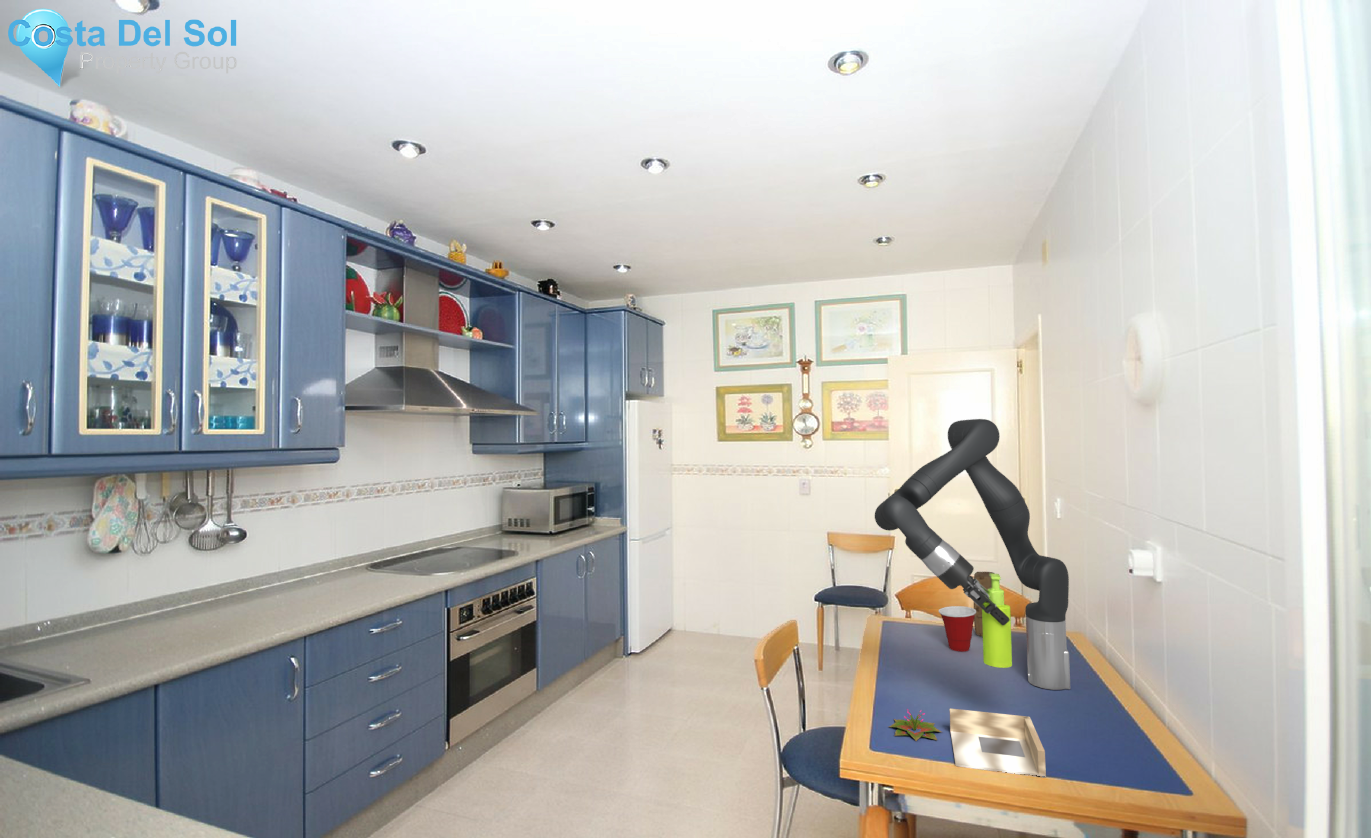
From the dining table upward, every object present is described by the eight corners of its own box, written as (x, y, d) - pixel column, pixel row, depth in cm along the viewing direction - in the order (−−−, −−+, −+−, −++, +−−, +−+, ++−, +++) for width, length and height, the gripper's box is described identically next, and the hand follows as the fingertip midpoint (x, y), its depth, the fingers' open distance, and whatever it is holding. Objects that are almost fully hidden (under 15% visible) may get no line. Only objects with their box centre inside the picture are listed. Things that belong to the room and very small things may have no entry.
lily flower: (886, 741, 141) (886, 719, 141) (886, 718, 153) (886, 698, 153) (946, 747, 138) (945, 726, 138) (941, 724, 149) (940, 703, 149)
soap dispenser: (1009, 659, 151) (1006, 572, 151) (1013, 669, 144) (1011, 578, 145) (981, 657, 152) (979, 571, 153) (984, 666, 146) (982, 576, 147)
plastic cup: (935, 642, 205) (934, 604, 206) (971, 643, 204) (970, 605, 204) (944, 654, 195) (943, 613, 195) (982, 655, 193) (981, 614, 194)
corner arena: (1030, 740, 139) (1029, 716, 139) (1045, 777, 124) (1044, 751, 124) (950, 731, 144) (949, 708, 145) (955, 766, 129) (954, 740, 129)
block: (999, 640, 207) (997, 577, 207) (974, 637, 210) (971, 575, 210) (999, 630, 216) (997, 570, 217) (975, 628, 220) (973, 568, 220)
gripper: (961, 558, 144) (1022, 616, 140) (956, 547, 158) (1012, 599, 154) (936, 581, 146) (996, 639, 142) (933, 568, 159) (988, 620, 155)
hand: (1004, 618), depth 148 cm, fingers closed on soap dispenser, 6 cm apart
